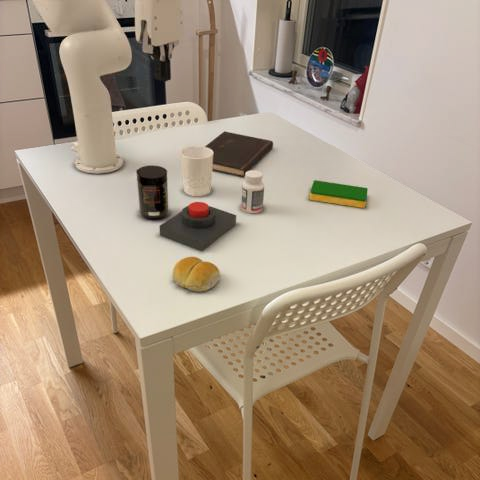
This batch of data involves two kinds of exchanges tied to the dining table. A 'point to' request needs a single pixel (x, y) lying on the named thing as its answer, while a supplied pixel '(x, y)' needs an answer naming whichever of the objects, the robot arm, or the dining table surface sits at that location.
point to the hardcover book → (237, 152)
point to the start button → (198, 209)
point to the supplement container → (153, 192)
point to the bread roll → (195, 274)
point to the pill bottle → (252, 192)
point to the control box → (197, 227)
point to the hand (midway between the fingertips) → (162, 79)
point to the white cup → (197, 170)
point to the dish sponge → (339, 194)
